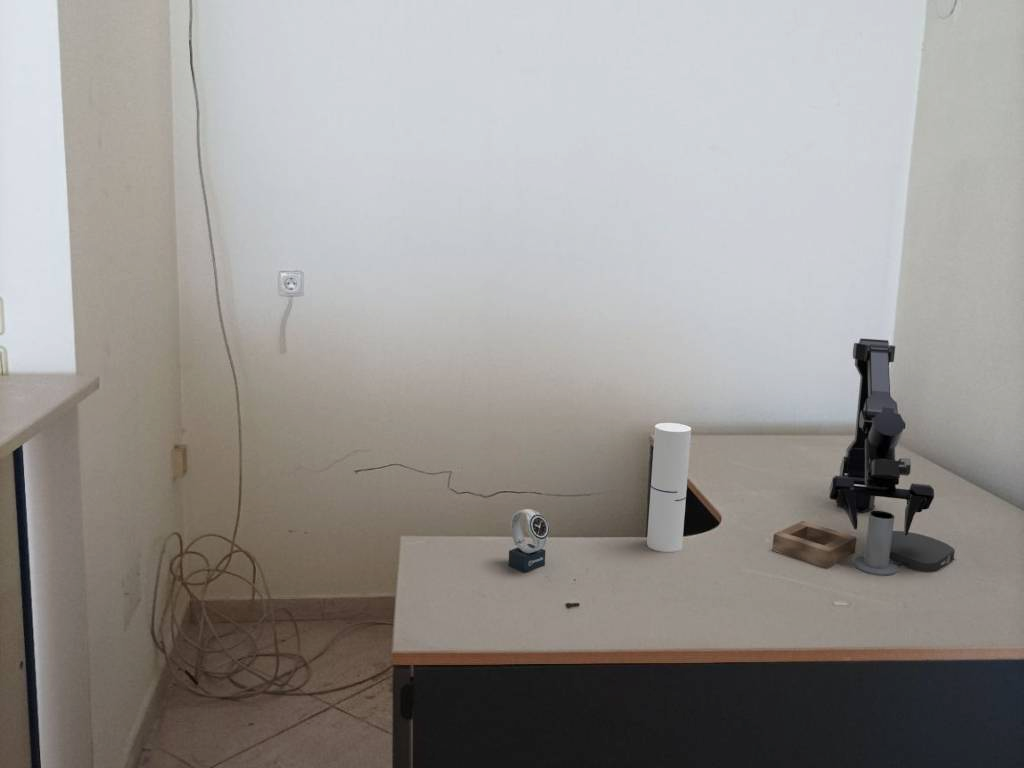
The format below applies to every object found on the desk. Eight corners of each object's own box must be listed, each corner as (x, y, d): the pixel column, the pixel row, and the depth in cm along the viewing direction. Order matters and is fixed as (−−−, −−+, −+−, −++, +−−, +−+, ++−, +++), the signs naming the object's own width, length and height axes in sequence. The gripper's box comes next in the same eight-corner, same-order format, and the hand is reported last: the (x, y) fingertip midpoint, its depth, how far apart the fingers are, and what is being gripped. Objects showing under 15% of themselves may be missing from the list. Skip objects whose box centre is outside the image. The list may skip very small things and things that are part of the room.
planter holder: (772, 550, 189) (773, 534, 188) (801, 536, 197) (802, 520, 196) (827, 568, 180) (829, 551, 180) (855, 553, 189) (857, 536, 188)
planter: (892, 568, 180) (899, 518, 178) (870, 569, 179) (877, 518, 177) (880, 559, 184) (886, 510, 182) (859, 559, 184) (865, 510, 182)
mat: (846, 566, 182) (846, 563, 182) (864, 556, 187) (864, 553, 187) (886, 579, 176) (886, 576, 176) (903, 568, 182) (904, 565, 182)
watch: (532, 576, 172) (534, 520, 170) (502, 563, 178) (503, 508, 175) (552, 568, 176) (555, 513, 174) (522, 555, 181) (524, 502, 179)
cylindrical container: (643, 538, 192) (651, 422, 187) (677, 538, 193) (685, 422, 188) (651, 552, 185) (659, 431, 180) (686, 552, 186) (695, 432, 181)
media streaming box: (889, 537, 199) (891, 524, 198) (959, 558, 189) (961, 544, 188) (858, 554, 189) (860, 540, 188) (930, 577, 179) (932, 563, 178)
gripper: (837, 436, 182) (836, 507, 174) (938, 445, 178) (942, 519, 170) (829, 463, 192) (828, 532, 183) (926, 473, 187) (929, 544, 179)
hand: (880, 531), depth 179 cm, fingers open, 9 cm apart
